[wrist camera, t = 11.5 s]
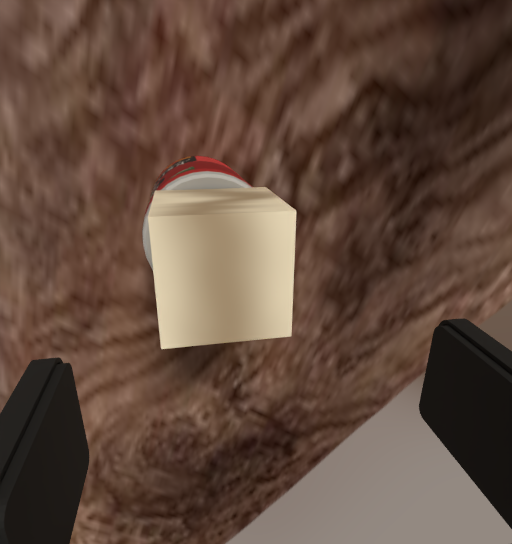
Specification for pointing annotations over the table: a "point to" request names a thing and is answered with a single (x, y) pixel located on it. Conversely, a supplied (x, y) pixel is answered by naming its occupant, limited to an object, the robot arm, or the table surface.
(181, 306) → the birch block
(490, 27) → the table surface
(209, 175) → the canned food
